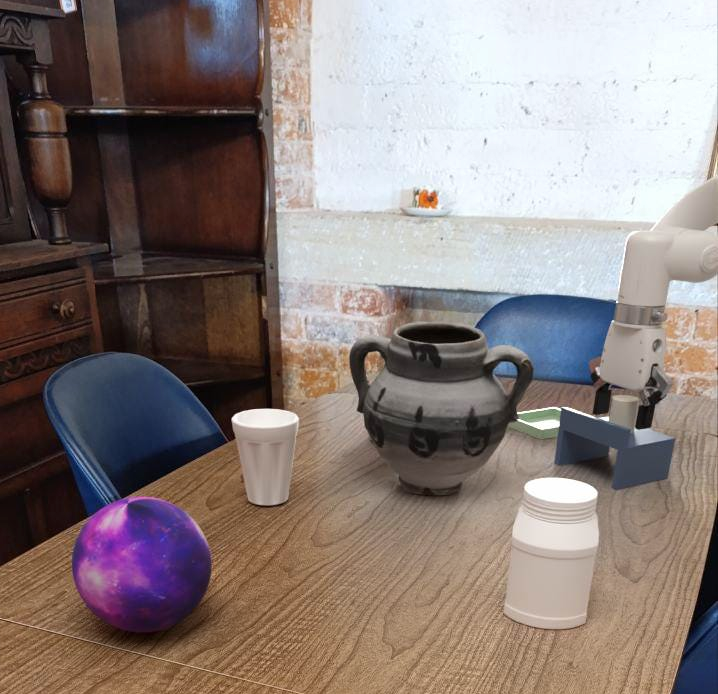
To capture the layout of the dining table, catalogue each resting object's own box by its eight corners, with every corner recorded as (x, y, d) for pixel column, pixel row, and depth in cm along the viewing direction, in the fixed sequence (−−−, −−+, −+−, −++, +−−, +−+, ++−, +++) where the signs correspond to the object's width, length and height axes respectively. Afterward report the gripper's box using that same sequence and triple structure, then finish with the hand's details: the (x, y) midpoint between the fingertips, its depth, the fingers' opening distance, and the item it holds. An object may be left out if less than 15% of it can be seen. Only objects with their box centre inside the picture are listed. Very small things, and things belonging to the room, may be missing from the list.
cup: (300, 512, 132) (299, 426, 126) (233, 512, 131) (229, 427, 125) (300, 488, 141) (298, 408, 134) (237, 489, 140) (233, 408, 134)
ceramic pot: (530, 475, 148) (548, 322, 136) (506, 524, 129) (525, 351, 117) (369, 455, 156) (372, 309, 144) (324, 498, 137) (323, 334, 125)
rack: (603, 453, 160) (612, 399, 155) (667, 478, 148) (679, 420, 144) (554, 463, 154) (561, 407, 149) (616, 490, 143) (626, 430, 138)
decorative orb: (62, 614, 102) (43, 493, 95) (181, 583, 110) (171, 469, 103) (110, 672, 91) (92, 540, 84) (238, 633, 99) (231, 509, 92)
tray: (553, 416, 181) (554, 406, 180) (591, 430, 173) (593, 420, 172) (503, 424, 175) (504, 415, 174) (540, 439, 166) (542, 429, 166)
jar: (508, 581, 112) (521, 469, 105) (585, 590, 110) (603, 477, 103) (501, 624, 102) (514, 503, 95) (585, 634, 100) (605, 512, 93)
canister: (620, 425, 151) (625, 393, 148) (639, 432, 148) (645, 399, 145) (601, 428, 149) (606, 396, 146) (620, 435, 146) (626, 402, 143)
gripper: (698, 322, 135) (676, 431, 143) (616, 305, 148) (600, 406, 156) (664, 326, 131) (644, 437, 139) (583, 308, 144) (568, 411, 152)
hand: (621, 420), depth 148 cm, fingers open, 9 cm apart
